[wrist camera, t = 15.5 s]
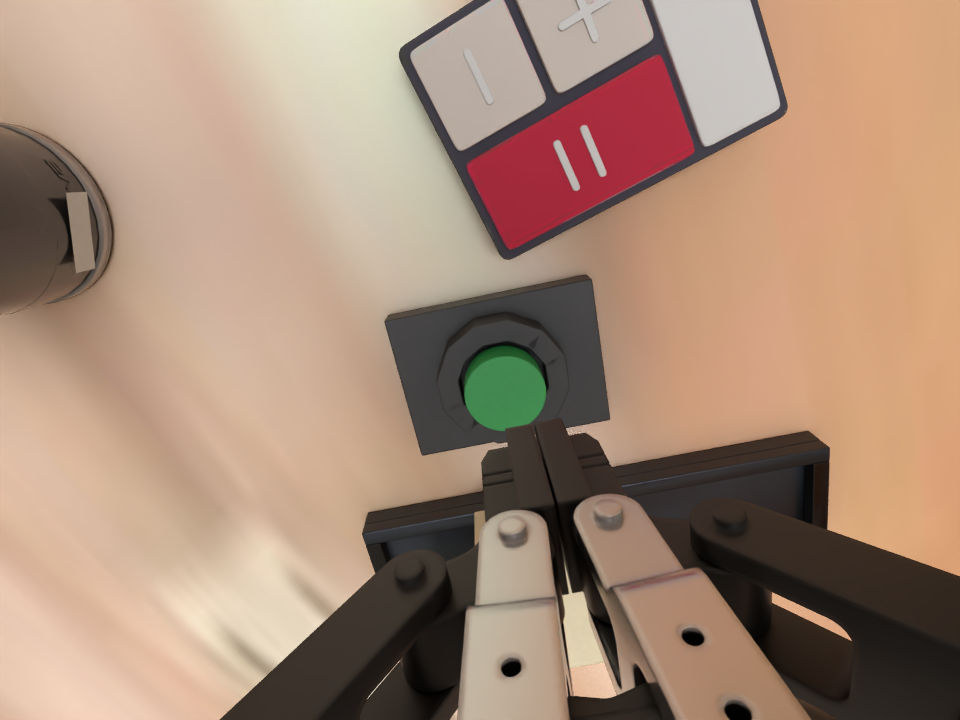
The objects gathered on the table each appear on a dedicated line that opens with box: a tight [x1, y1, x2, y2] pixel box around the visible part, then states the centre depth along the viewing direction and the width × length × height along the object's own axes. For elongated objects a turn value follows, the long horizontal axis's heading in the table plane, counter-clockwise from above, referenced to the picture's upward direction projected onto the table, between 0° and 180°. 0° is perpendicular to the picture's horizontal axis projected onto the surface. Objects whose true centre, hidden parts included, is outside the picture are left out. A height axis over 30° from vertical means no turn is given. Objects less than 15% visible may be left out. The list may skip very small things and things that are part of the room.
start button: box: [464, 346, 546, 431], centre depth 28 cm, size 4×4×2 cm
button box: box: [385, 275, 610, 455], centre depth 30 cm, size 12×9×3 cm
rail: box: [362, 431, 830, 574], centre depth 35 cm, size 30×8×2 cm, turn 102°
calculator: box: [399, 0, 787, 260], centre depth 25 cm, size 11×4×15 cm
